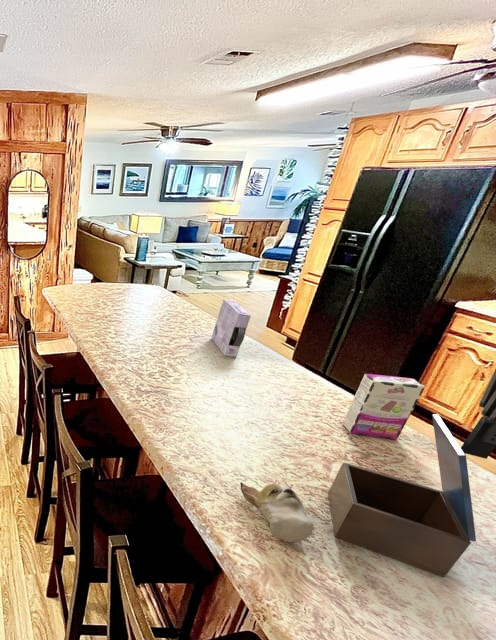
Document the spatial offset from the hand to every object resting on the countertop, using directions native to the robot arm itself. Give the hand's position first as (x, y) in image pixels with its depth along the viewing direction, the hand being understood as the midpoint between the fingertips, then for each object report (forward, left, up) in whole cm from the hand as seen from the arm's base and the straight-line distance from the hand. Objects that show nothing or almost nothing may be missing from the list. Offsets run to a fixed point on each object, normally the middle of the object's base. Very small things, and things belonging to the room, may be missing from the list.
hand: (473, 453), depth 65 cm
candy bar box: (+1, -41, -22) cm, 47 cm away
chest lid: (+1, 0, -5) cm, 5 cm away
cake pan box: (+41, -81, -22) cm, 93 cm away
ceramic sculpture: (+23, +8, -22) cm, 32 cm away
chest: (+5, 0, -22) cm, 22 cm away
